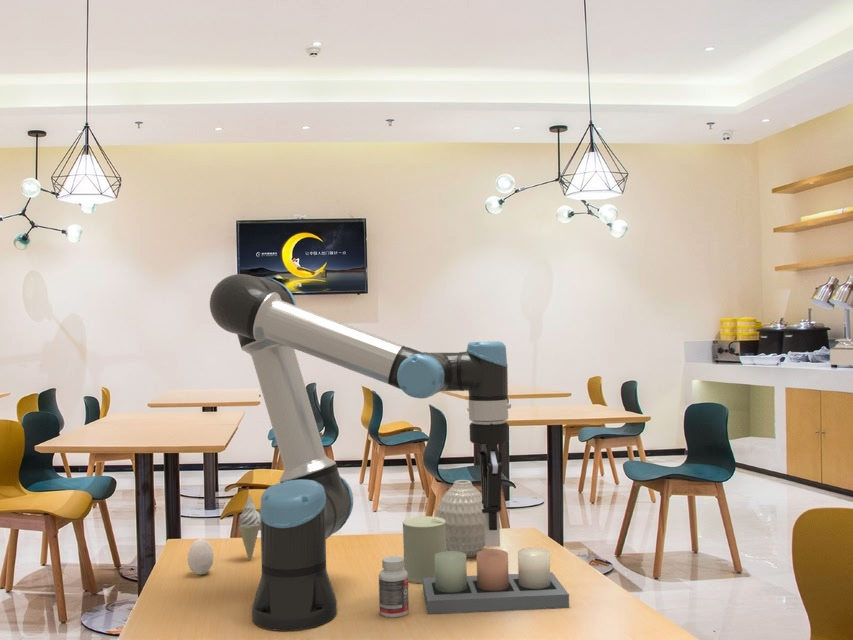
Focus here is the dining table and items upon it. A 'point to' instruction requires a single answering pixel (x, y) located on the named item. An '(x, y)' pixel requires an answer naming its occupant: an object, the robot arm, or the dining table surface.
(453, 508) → the vase
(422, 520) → the can
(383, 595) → the pill bottle
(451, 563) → the pale green round piece
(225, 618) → the dining table surface
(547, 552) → the cream cylinder
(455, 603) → the board
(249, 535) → the ice cream cone
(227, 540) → the dining table surface
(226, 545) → the dining table surface
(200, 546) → the egg
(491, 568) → the pink cylinder
